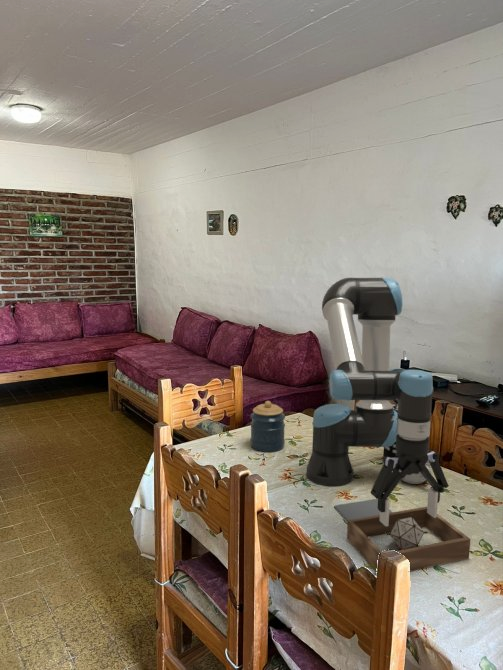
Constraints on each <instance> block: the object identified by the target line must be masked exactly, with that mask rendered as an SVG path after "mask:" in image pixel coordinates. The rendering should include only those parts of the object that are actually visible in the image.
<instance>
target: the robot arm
mask: <svg viewBox="0 0 503 670" xmlns="http://www.w3.org/2000/svg"><path fill="white" fill-rule="evenodd" d="M402 308H403V294H402V290H401V287H400V285H399V283H398V281H397V280H396V279H394V278H389V277H345V278H341V279H339V280H337V281H336V282H335V283H333V284H332V285H330V287H329V288H328V289H327V290H326V292H325V294H324V296H323V299H322V302H321V311H322V312H321V313H322V316H323V317H324V319H325V320H326V321H327V328H328V332H329V339H330V344H331V351H332V356H333V362H334V363H333V364H334V369H335V370H331V372H330V374H329V383H328V384H329V393H330V397H331V398H332V399H334V400H341V401H357V402H356V403H355V409H353V410H352V409H351V407H350V406H349V405H348V404H344V403H330V404H324V405H321V406H319V407H317V408H316V409H315V410H314V412H313V417H312V418H313V419H312V449H311V450H312V452H311V455H310V457H309V460H308V463H307V465H306V477H307V479H309V481H311V482H313V483H316V484H317V485H318V484H319V485H322V486H328V487H330V486H331V487H337V486H344V485H347V484H349V483H351V482H352V481H353V479H354V468H353V465H352V463H351V460H350V456H349V448H350V447H353V448H354V447H355V448H357V447H358V448H360V447H362V448H364V447H365V448H379V449H380V448H384V447H389V446H392V445H393V444H394V442H395V441H396V451H397V455H396V457H395V458H389V457H388V456H385V457H384V462H383V464H382V467H381V469H380V471H379V472H378V475H377V477H376V479H375V482H374V483H373V484H372V485H373V486H372V488H371V490H370V494H371V495H372V496H373V497H374V499H378V510H379V511H380V522H381V523H382V524H384V525H385V526H389V510H390V503H391V502H390V501H391V500H390V499H389V496H390V495H391V493H392V492H394V490H395V488H396V487H397V486H398V484H399V483H400V482H401V481H402V478H404V477H405V476H406V475H411V474H419V472H421V474H422V475H423V476H424V478H425V479H426V482H427V483H428V484H429V485H430V487H428V492H427V505H426V507H427V513H428V514H429V515H431V516H432V517H433V518H436V517H437V514H438V504H439V503H440V501H441V494H443V493H444V491H445V489H447V488H448V487H449V484H448V481H447V478H446V476H445V474H444V471H443V469H442V467H441V463H440V454H438V453H437V452H435V451H434V450H431V449H430V438H429V437H430V435H431V433H430V432H431V420H432V419H431V417H432V405H433V402H432V401H433V393H434V386H433V385H434V384H433V383H434V382H433V375H432V373H430V372H428V371H424V370H422V369H421V370H420V369H405V368H400V367H394V368H390V356H391V355H390V350H391V346H390V345H391V327H392V324H394V323H395V322H396V316H398V315H401V313H402V311H403V309H402ZM353 315H357V321H358V322H359V323H360V324H361V326H362V334H361V335H362V338H361V339H362V340H361V341H362V342H361V348H360V342H359V339H358V335H357V330H356V326H355V321H354V316H353ZM390 401H396V403H397V404H398V413H397V412H396V411H394V410H393V405H392V404H393V403H391V402H390ZM428 460H429V463H430V465H431V466H430V469H431V471H432V472H433V474H434V476H433V474H432V472H431V473H430V472H429V470H428V469H427V467H426V466H425V464H426V462H427V461H428ZM395 464H396V466H395ZM399 469H400V470H401V471H402V472H399Z"/></svg>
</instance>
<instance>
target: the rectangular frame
mask: <svg viewBox="0 0 503 670" xmlns="http://www.w3.org/2000/svg"><path fill="white" fill-rule="evenodd" d="M392 512H393V513H389V526H385V525H384V524H382V523H381V522H380V515H376V516H370V517H364V518H358V519H353V520H348V522H347V525H346V527H347V529H346V539H347V541H349V543H350V544H351V546H353V548H355V550H356V551H357V552H358V553H359V554H360V555H361V557H363V559H365V560H366V562H367V563H368V564H369V566H371V568H373V570H375V572H376V568H377V560H378V555H379V553H381V552H383V551H382V550H381V549H380V548H379V547H378V546H377V545H376V543H374V542H373V540H371V539H370V538H371V537H375V536H376V537H377V536H380V535H385V534H387V533H389V534H390V532H391V530H392V528H393V526H394V524H395V520H396V519H395V517H396V518H397V519H403V518H408V517H411V515H412V514H413V519H414V520H415V521H416V522H417V524H418V525H419V526H420V527H421V528H423V527H426V528H427V529H429V530H430V532H432V533H433V534H434V535H436V536H437V537H438V538H439V539H440V540H442V541H439V542H436V543H430V544H425V545H419V547H414V548H410V549H405V550H401V549H400V550H397V552H399V553H401V554H402V555H404V556H405V557H406V558H407V559H408V560H409V562H410V570H411V571H410V572H412V571H417V570H423V569H425V568H431V567H434V566H440V565H444V564H448V563H454V562H457V561H458V562H460V561H462V560H467V559H469V558H470V551H471V550H470V549H471V538H470V537H469V536H468V535H466V534H464V533H463V532H462V531H461V530H459V528H457V527H456V526H454V524H453V525H452V523H450V522H449V521H448V520H447V519H445V518H444V517H442V516H441V515H440V514H438V513H437V517H436V518H433V517H432V516H431V515H429V514H428V513H427V506H422V507H416V508H411V509H410V508H409V509H404V510H400V511H399V510H398V511H392Z"/></svg>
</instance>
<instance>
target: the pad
mask: <svg viewBox="0 0 503 670" xmlns="http://www.w3.org/2000/svg"><path fill="white" fill-rule="evenodd" d="M333 508H334V509H335V510H336V511H337V512H338V513H339V514H340V516H341V517H342V518H343V519H344V520H345V521H346V522H347V523H348V520H353V519H358V518H364V517H370V516H376V515H380V511H379V510H378V499H377V498H373V499H367V500H360V501H354V502H348V503H343V504H342V503H341V504H337V505H336V504H335V505H333ZM393 512H394V511H392V510H391V509H389V513H393Z"/></svg>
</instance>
